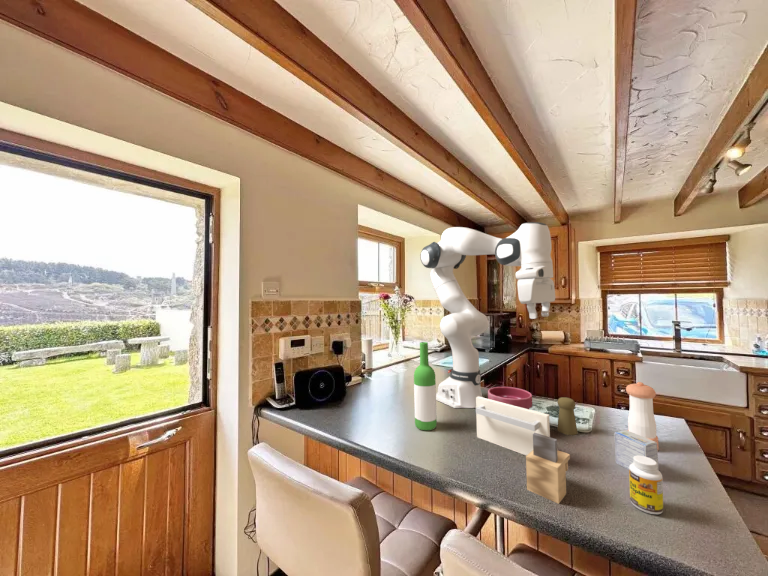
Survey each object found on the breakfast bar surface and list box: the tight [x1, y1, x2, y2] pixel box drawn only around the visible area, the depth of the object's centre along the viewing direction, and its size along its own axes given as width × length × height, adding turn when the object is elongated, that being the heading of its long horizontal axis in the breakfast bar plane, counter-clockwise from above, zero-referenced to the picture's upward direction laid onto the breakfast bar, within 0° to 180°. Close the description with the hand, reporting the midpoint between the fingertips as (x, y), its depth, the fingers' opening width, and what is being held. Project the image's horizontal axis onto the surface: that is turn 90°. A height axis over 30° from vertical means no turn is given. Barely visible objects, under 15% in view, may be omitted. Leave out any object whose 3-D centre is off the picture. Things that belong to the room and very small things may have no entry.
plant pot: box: [487, 386, 533, 410], centre depth 106 cm, size 14×14×13 cm
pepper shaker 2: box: [625, 381, 660, 451], centre depth 93 cm, size 7×7×19 cm
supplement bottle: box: [628, 456, 664, 515], centre depth 67 cm, size 6×6×10 cm
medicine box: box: [614, 429, 660, 471], centre depth 81 cm, size 8×4×9 cm, turn 17°
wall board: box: [475, 396, 551, 457], centre depth 92 cm, size 22×7×13 cm, turn 42°
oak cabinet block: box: [525, 433, 571, 505], centre depth 74 cm, size 7×8×13 cm
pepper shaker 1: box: [556, 396, 579, 436], centre depth 104 cm, size 6×6×11 cm
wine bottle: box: [413, 341, 438, 431], centre depth 110 cm, size 8×8×30 cm
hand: (539, 317), depth 95 cm, fingers open, 8 cm apart
